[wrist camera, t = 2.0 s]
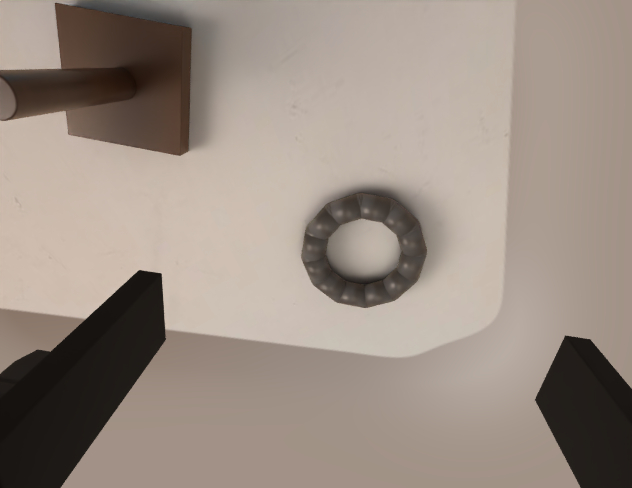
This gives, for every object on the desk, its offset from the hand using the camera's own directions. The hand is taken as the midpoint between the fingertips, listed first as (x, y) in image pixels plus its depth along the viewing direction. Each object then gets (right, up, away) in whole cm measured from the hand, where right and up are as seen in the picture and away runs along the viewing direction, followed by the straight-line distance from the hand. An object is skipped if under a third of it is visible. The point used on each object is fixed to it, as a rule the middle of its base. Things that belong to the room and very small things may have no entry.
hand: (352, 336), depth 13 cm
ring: (+2, +2, +17) cm, 17 cm away
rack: (-14, +14, +14) cm, 24 cm away
